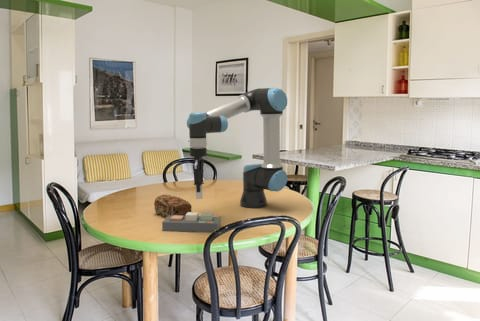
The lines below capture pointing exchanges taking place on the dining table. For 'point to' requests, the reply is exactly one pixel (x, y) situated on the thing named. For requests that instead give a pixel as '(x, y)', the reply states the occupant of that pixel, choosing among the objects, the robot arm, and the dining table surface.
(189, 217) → the key cream
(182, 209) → the bread
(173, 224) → the keypad board
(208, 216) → the key sage
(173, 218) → the key terracotta
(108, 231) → the dining table surface
